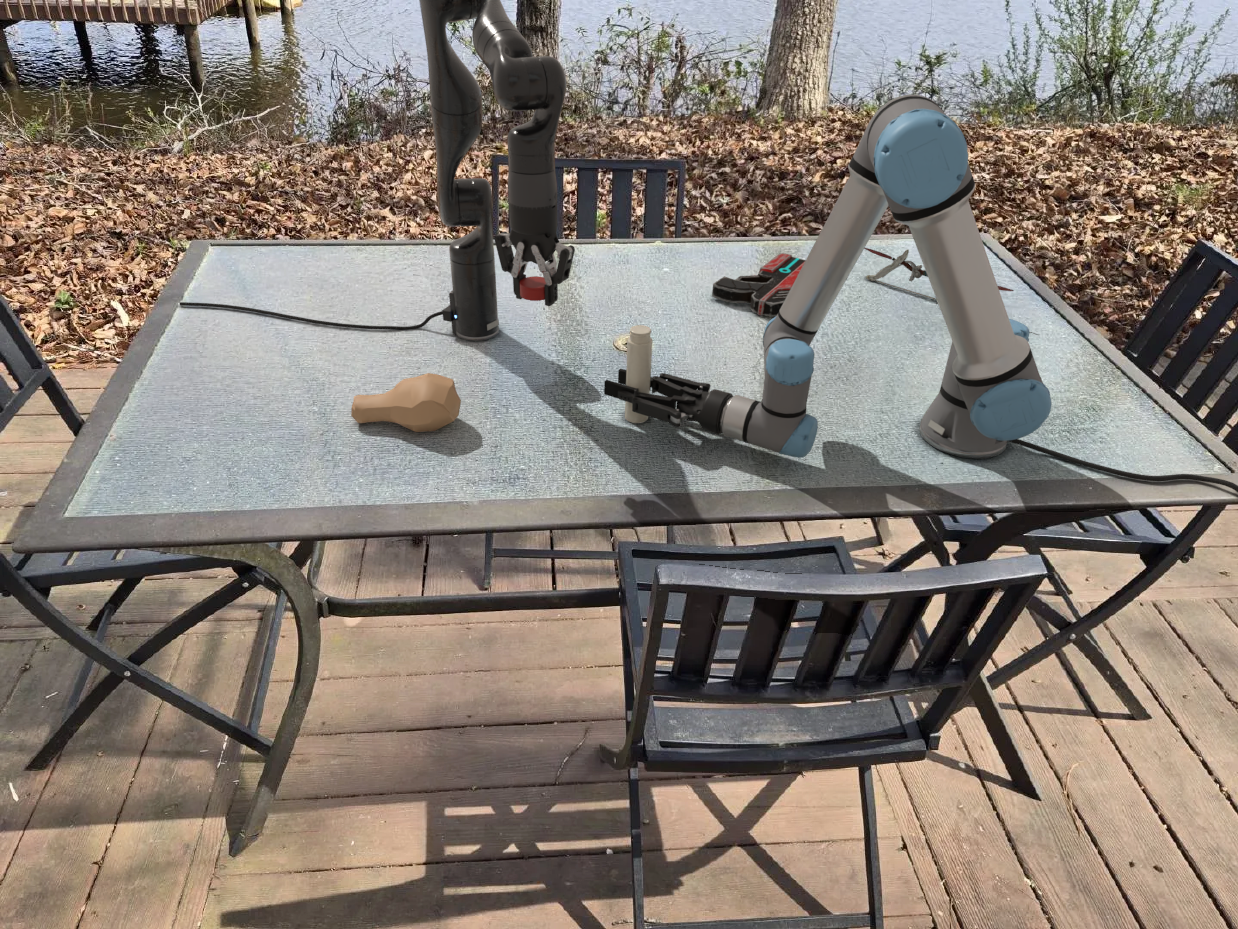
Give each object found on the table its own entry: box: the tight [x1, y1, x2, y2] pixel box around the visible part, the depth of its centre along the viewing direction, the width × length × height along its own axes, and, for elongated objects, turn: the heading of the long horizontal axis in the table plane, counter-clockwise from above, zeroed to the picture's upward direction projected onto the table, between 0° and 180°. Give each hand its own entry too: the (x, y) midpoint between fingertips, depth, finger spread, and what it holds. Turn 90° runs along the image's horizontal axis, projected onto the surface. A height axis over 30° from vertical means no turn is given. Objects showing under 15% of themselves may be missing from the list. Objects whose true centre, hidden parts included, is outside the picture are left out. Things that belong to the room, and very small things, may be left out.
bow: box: [864, 247, 1015, 301], centre depth 212 cm, size 39×2×10 cm, turn 47°
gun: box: [711, 252, 806, 318], centre depth 215 cm, size 4×31×19 cm
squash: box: [350, 372, 462, 433], centre depth 158 cm, size 11×20×9 cm, turn 90°
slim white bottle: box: [624, 324, 654, 424], centre depth 159 cm, size 4×4×18 cm
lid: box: [520, 275, 546, 302], centre depth 143 cm, size 5×5×2 cm
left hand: (535, 300), depth 145 cm, fingers closed on lid, 5 cm apart
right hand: (612, 381), depth 163 cm, fingers closed on slim white bottle, 4 cm apart
